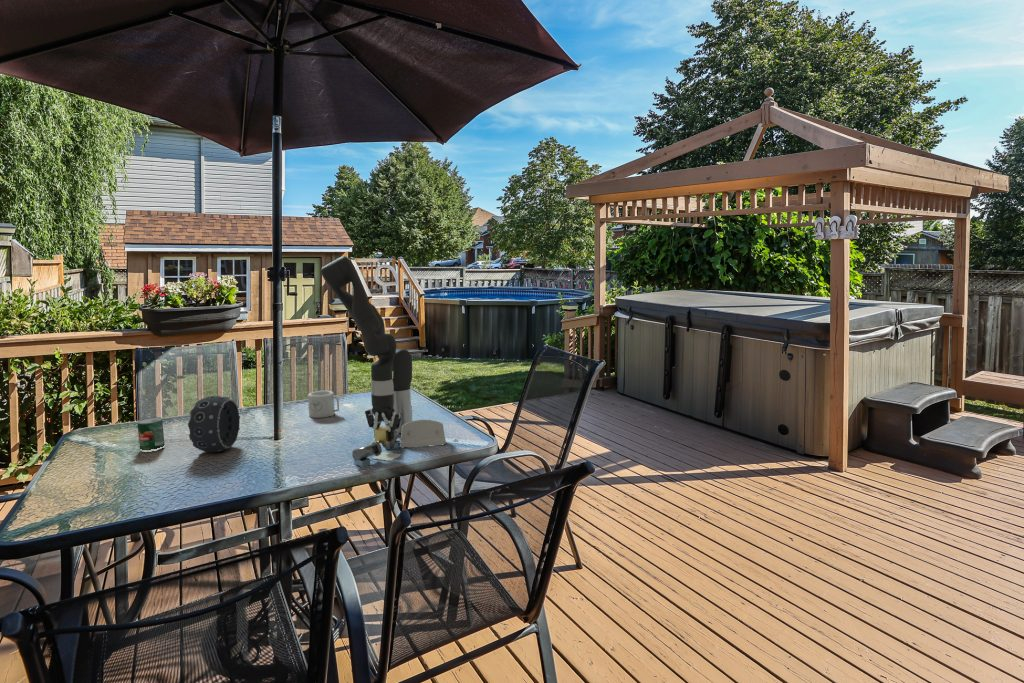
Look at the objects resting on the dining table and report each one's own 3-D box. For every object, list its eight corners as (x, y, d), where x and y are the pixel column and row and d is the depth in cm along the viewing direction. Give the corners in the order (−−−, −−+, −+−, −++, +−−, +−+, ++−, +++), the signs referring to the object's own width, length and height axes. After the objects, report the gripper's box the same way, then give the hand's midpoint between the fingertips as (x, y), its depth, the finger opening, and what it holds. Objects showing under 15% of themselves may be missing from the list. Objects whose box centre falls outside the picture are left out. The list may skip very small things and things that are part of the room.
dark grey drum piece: (244, 441, 225) (239, 390, 222) (219, 459, 205) (214, 403, 202) (215, 442, 224) (210, 390, 221) (188, 460, 204) (182, 404, 202)
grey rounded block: (399, 448, 215) (399, 420, 217) (400, 448, 219) (399, 421, 221) (446, 445, 217) (445, 418, 219) (445, 445, 222) (444, 419, 224)
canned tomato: (136, 453, 212) (132, 423, 211) (145, 446, 220) (142, 417, 218) (159, 452, 214) (156, 422, 212) (168, 445, 221) (165, 416, 220)
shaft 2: (387, 445, 218) (387, 428, 217) (400, 445, 218) (400, 428, 217) (382, 453, 209) (381, 436, 208) (395, 453, 209) (394, 436, 208)
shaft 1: (360, 468, 195) (359, 449, 194) (351, 465, 198) (350, 446, 197) (382, 461, 202) (381, 443, 201) (373, 458, 205) (372, 440, 204)
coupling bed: (382, 452, 210) (382, 451, 210) (401, 455, 207) (401, 454, 207) (371, 458, 204) (371, 457, 204) (390, 461, 201) (390, 460, 201)
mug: (304, 418, 256) (303, 395, 255) (316, 411, 267) (315, 389, 265) (333, 419, 254) (332, 396, 252) (344, 412, 264) (343, 390, 263)
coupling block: (374, 442, 204) (374, 429, 203) (382, 438, 208) (382, 426, 207) (385, 443, 202) (385, 431, 201) (393, 440, 206) (392, 427, 205)
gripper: (358, 392, 202) (360, 441, 204) (394, 396, 196) (395, 446, 199) (371, 388, 208) (373, 435, 211) (406, 391, 203) (407, 439, 206)
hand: (384, 440), depth 205 cm, fingers closed on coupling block, 4 cm apart
